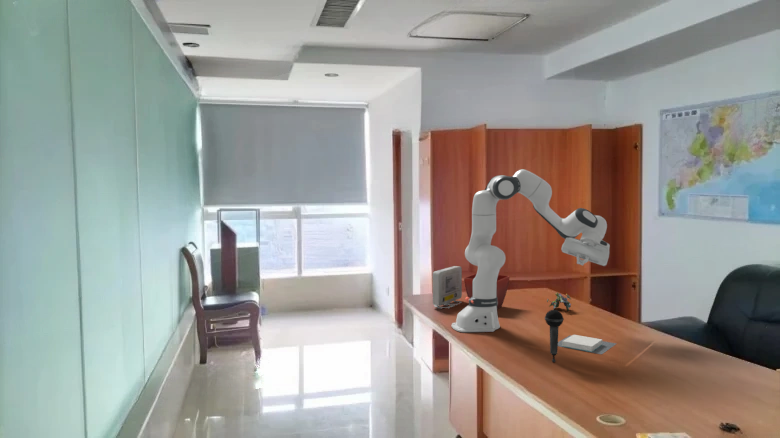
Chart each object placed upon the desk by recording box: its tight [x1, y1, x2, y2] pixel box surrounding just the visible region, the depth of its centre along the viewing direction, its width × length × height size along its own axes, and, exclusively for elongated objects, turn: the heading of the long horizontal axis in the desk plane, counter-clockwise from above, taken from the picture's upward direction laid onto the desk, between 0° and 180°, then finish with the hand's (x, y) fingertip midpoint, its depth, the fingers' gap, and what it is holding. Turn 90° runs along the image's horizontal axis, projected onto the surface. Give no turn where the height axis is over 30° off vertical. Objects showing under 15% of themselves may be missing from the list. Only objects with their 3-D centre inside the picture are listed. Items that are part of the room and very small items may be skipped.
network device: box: [432, 265, 463, 309], centre depth 307 cm, size 26×9×20 cm, turn 144°
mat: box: [558, 334, 617, 355], centre depth 230 cm, size 18×20×1 cm
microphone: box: [544, 309, 565, 363], centre depth 209 cm, size 7×7×20 cm
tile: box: [561, 334, 603, 353], centre depth 228 cm, size 2×12×12 cm
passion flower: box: [546, 292, 572, 312], centre depth 292 cm, size 11×11×12 cm
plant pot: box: [463, 272, 511, 310], centre depth 299 cm, size 19×19×17 cm
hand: (579, 263), depth 244 cm, fingers closed
